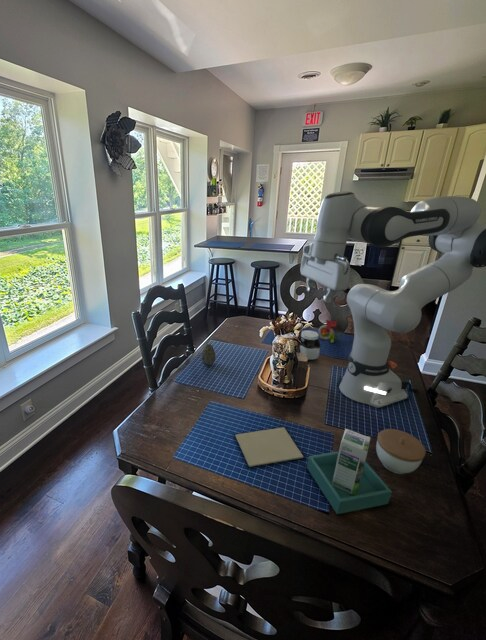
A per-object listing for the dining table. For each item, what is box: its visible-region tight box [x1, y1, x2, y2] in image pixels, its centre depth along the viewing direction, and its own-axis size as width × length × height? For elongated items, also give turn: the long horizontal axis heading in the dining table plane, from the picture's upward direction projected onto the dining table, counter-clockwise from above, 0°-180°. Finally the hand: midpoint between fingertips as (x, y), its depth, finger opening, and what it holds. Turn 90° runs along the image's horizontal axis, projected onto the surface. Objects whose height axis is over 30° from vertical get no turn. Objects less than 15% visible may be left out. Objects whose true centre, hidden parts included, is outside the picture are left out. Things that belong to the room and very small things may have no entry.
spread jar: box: [300, 329, 321, 362], centre depth 139 cm, size 12×11×12 cm
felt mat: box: [235, 426, 304, 468], centre depth 94 cm, size 16×12×1 cm
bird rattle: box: [318, 319, 340, 344], centre depth 154 cm, size 6×11×9 cm
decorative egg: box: [200, 343, 216, 367], centre depth 135 cm, size 6×6×10 cm
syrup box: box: [332, 428, 372, 496], centre depth 79 cm, size 6×6×14 cm
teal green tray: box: [306, 450, 393, 515], centre depth 81 cm, size 14×14×4 cm
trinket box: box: [375, 428, 427, 475], centre depth 86 cm, size 11×11×9 cm
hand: (318, 296), depth 98 cm, fingers open, 8 cm apart
